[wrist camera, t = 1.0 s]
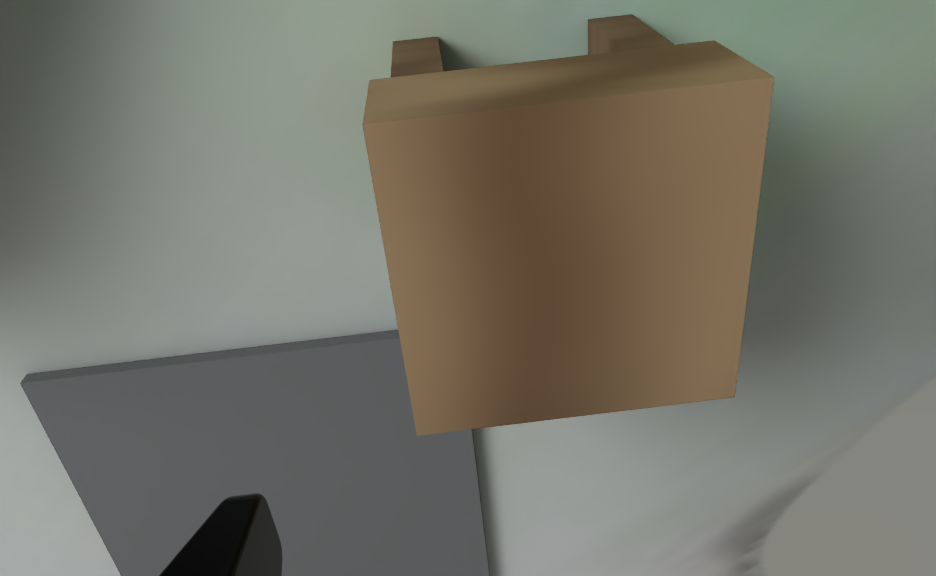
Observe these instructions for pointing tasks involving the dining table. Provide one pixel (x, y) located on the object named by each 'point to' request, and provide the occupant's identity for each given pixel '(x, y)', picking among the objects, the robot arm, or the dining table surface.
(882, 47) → the dining table surface
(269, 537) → the robot arm
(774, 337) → the dining table surface
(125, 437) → the mat
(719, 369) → the stool
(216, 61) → the dining table surface
